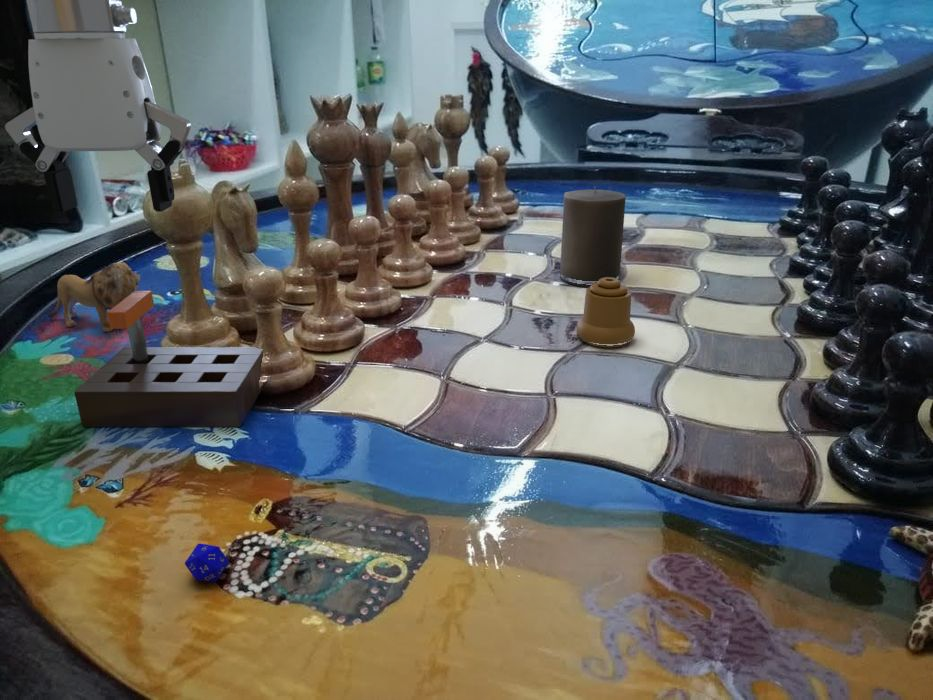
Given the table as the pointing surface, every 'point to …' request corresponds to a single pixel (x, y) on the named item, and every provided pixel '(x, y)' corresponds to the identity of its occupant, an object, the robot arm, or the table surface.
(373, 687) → the table surface
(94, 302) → the lion figurine
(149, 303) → the t handle
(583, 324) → the ornamental finial
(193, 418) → the tool rack
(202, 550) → the die
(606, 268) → the pillar candle
